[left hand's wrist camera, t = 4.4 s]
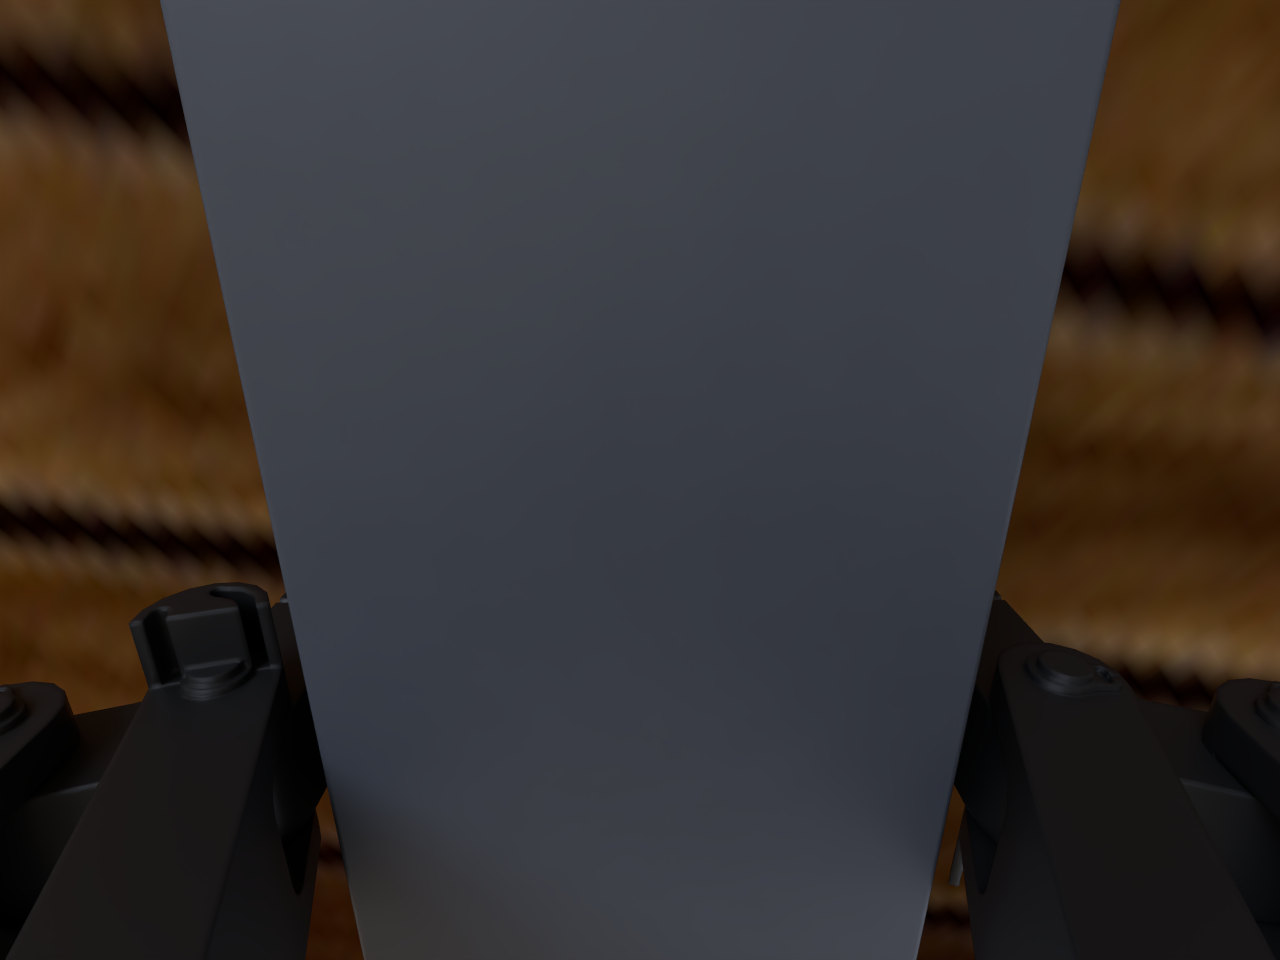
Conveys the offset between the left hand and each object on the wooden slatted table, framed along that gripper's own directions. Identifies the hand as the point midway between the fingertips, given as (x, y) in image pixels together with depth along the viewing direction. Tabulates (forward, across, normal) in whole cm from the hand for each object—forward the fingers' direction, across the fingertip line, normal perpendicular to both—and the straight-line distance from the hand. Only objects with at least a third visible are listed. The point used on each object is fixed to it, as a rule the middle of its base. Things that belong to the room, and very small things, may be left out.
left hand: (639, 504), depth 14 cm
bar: (0, 0, -22) cm, 23 cm away
